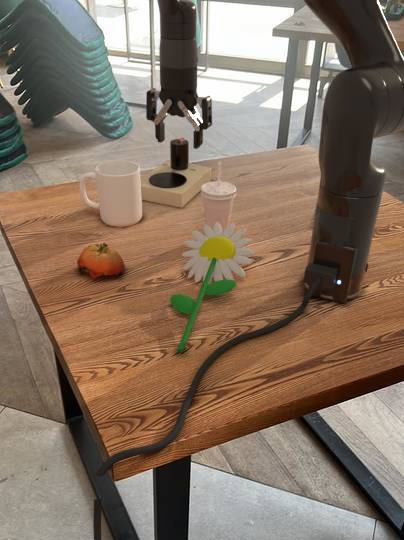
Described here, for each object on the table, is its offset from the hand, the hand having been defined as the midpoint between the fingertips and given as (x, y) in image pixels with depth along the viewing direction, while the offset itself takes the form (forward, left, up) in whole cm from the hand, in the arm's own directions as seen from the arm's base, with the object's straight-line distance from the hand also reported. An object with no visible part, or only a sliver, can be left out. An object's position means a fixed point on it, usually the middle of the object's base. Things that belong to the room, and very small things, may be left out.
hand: (179, 144), depth 124 cm
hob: (-5, -1, -8) cm, 9 cm away
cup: (-23, +4, -8) cm, 25 cm away
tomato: (-42, -5, -8) cm, 43 cm away
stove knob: (0, 0, -5) cm, 5 cm away
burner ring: (-8, -1, -5) cm, 10 cm away
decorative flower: (-42, -24, -8) cm, 49 cm away
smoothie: (-22, -18, -8) cm, 30 cm away
